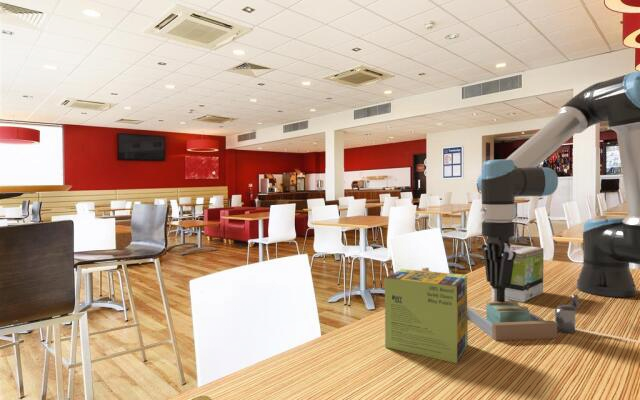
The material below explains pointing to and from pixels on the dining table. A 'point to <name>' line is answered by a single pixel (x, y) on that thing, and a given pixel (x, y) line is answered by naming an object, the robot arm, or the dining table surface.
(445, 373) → the dining table surface
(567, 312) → the winch drum
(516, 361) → the dining table surface
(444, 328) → the protein box
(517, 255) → the tea box
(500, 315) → the crate
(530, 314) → the bay
